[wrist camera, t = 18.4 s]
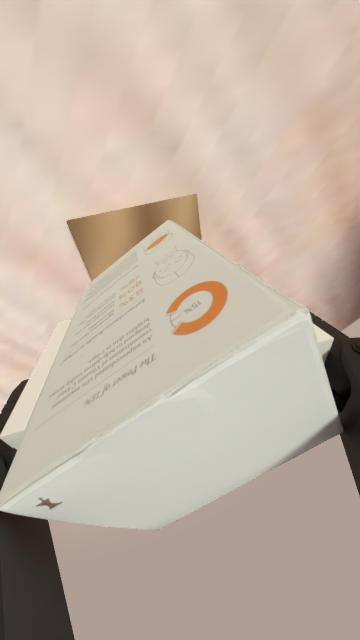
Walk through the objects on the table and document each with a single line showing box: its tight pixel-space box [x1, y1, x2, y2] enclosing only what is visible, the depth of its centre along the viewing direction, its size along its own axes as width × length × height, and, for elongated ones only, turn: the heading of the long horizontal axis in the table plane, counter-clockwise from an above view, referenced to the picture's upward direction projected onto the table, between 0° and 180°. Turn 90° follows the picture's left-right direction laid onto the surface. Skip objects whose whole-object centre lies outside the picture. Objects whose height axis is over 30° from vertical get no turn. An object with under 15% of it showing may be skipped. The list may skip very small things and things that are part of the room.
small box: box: [0, 220, 343, 530], centre depth 11 cm, size 8×6×13 cm
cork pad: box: [67, 194, 201, 281], centre depth 20 cm, size 11×11×1 cm
